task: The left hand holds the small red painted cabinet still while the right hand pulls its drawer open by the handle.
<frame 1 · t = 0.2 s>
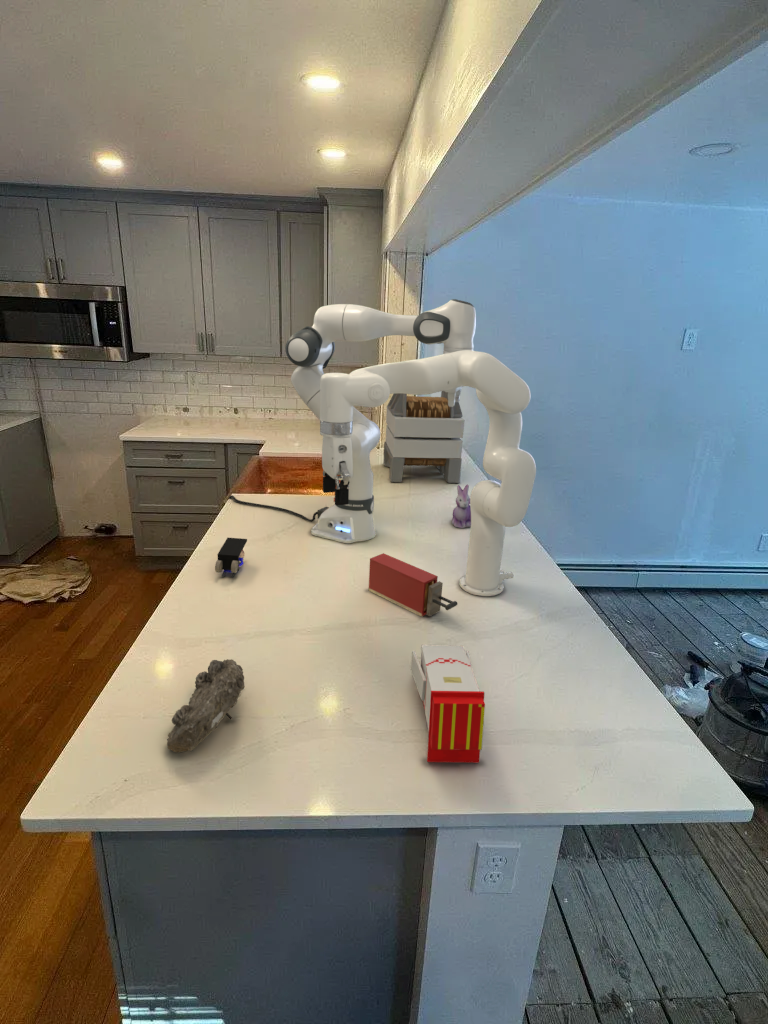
left hand: (453, 404, 174), 48 cm above the counter, tool pointing down, fingers open, 8 cm apart
right hand: (335, 498, 137), 31 cm above the counter, tool pointing down, fingers open, 9 cm apart
transformer: (419, 473, 275), on the counter
figurine: (462, 524, 212), on the counter
cabinet: (400, 599, 155), on the counter
toy: (442, 711, 112), on the counter
fossil: (212, 717, 108), on the counter
drawer: (416, 590, 150), point 5 cm above the counter, slide at 1.0 cm
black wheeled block: (232, 569, 168), on the counter
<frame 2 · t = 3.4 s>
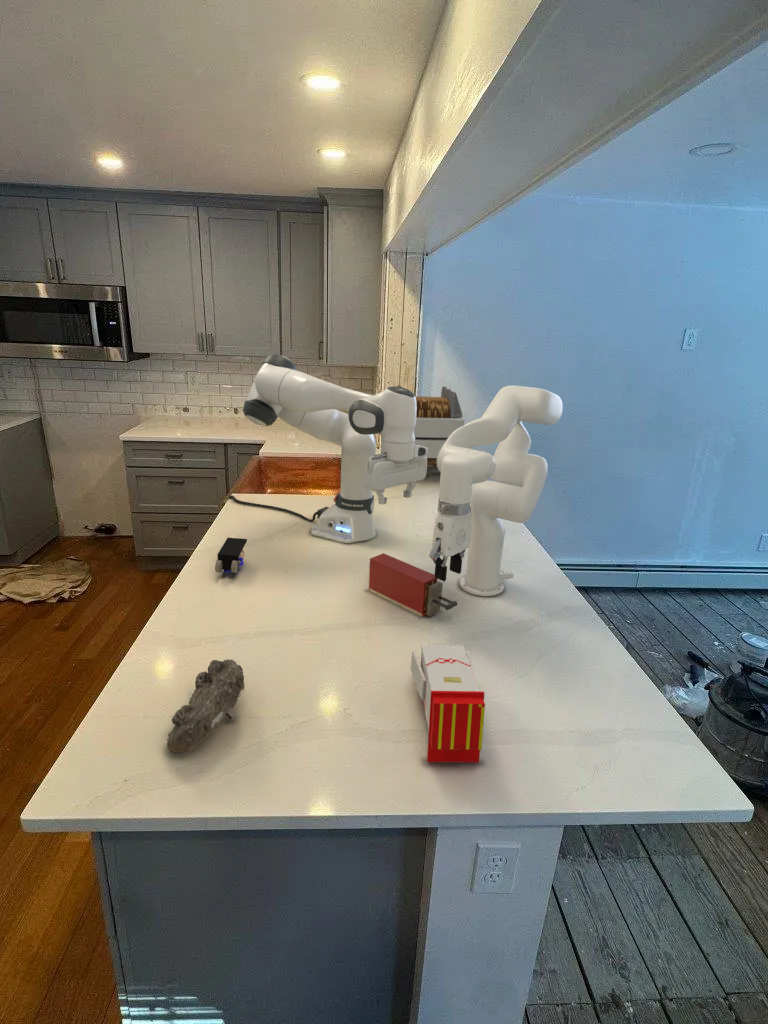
left hand: (395, 500, 153), 26 cm above the counter, tool pointing down, fingers open, 8 cm apart
right hand: (447, 574, 141), 13 cm above the counter, tool pointing down, fingers open, 5 cm apart
nothing on the counter moved.
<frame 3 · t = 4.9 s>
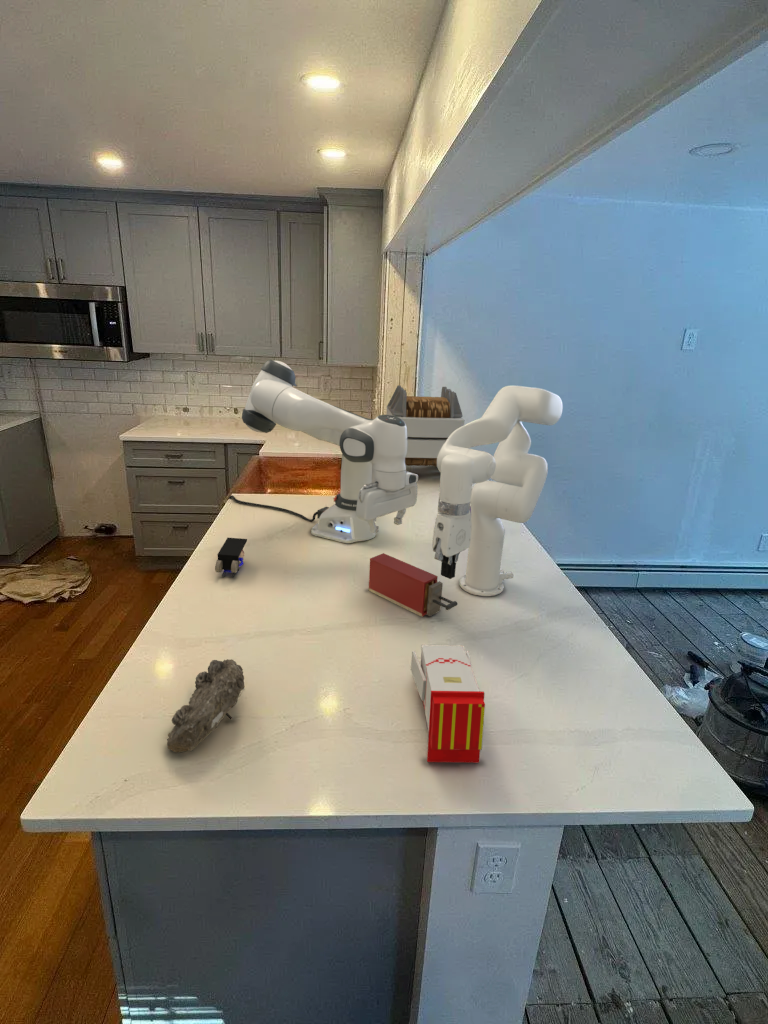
left hand: (386, 528, 152), 19 cm above the counter, tool pointing down, fingers open, 8 cm apart
right hand: (447, 576, 141), 13 cm above the counter, tool pointing down, fingers closed
nothing on the counter moved.
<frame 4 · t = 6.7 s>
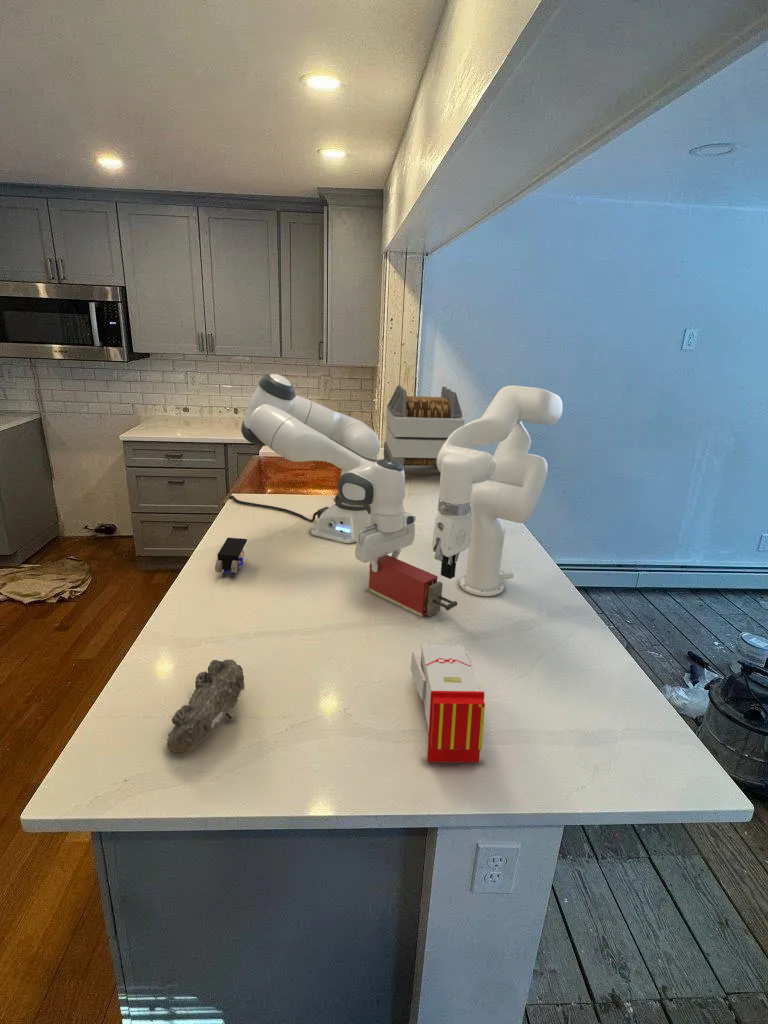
left hand: (384, 567, 156), 8 cm above the counter, tool pointing down, fingers closed on cabinet, 5 cm apart
right hand: (447, 576, 141), 13 cm above the counter, tool pointing down, fingers closed
cabinet: (400, 599, 155), on the counter, touching left hand
everything else where it was.
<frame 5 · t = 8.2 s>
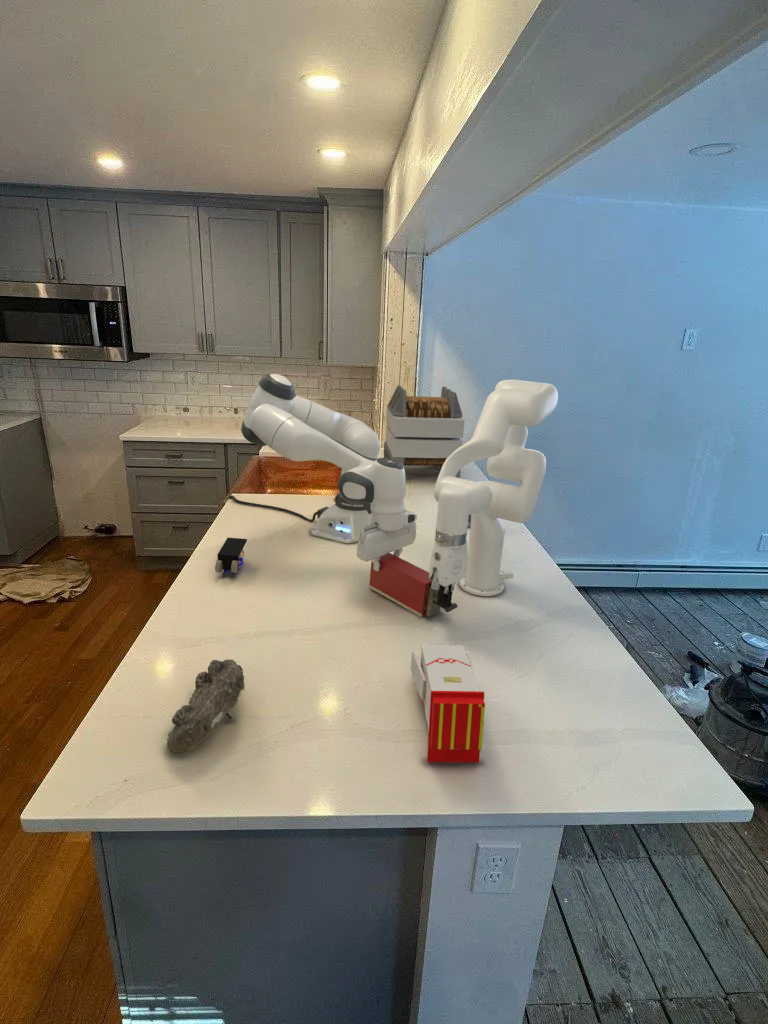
left hand: (386, 566, 156), 8 cm above the counter, tool pointing down, fingers closed on cabinet, 5 cm apart
right hand: (443, 604, 143), 5 cm above the counter, tool pointing down, fingers closed
cabinet: (401, 598, 155), on the counter, touching left hand
drawer: (417, 590, 149), point 5 cm above the counter, slide at 0.9 cm, touching right hand
everything else where it was.
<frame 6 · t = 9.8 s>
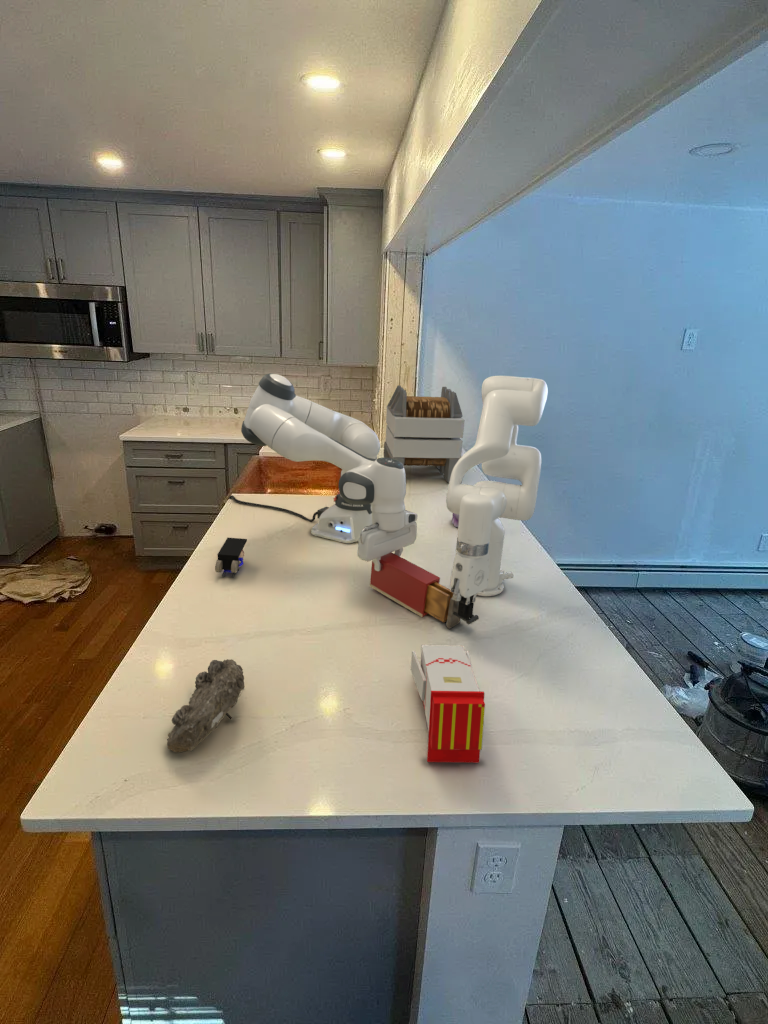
left hand: (387, 566, 156), 8 cm above the counter, tool pointing down, fingers closed on cabinet, 5 cm apart
right hand: (464, 616, 139), 5 cm above the counter, tool pointing down, fingers closed
cabinet: (401, 598, 154), point 1 cm above the counter, touching left hand
drawer: (436, 600, 145), point 5 cm above the counter, slide at 7.3 cm, touching right hand
everything else where it was.
when the left hand's fingers open (8 cm above the counter, at t = 11.3 s): cabinet stays where it is, on the counter.
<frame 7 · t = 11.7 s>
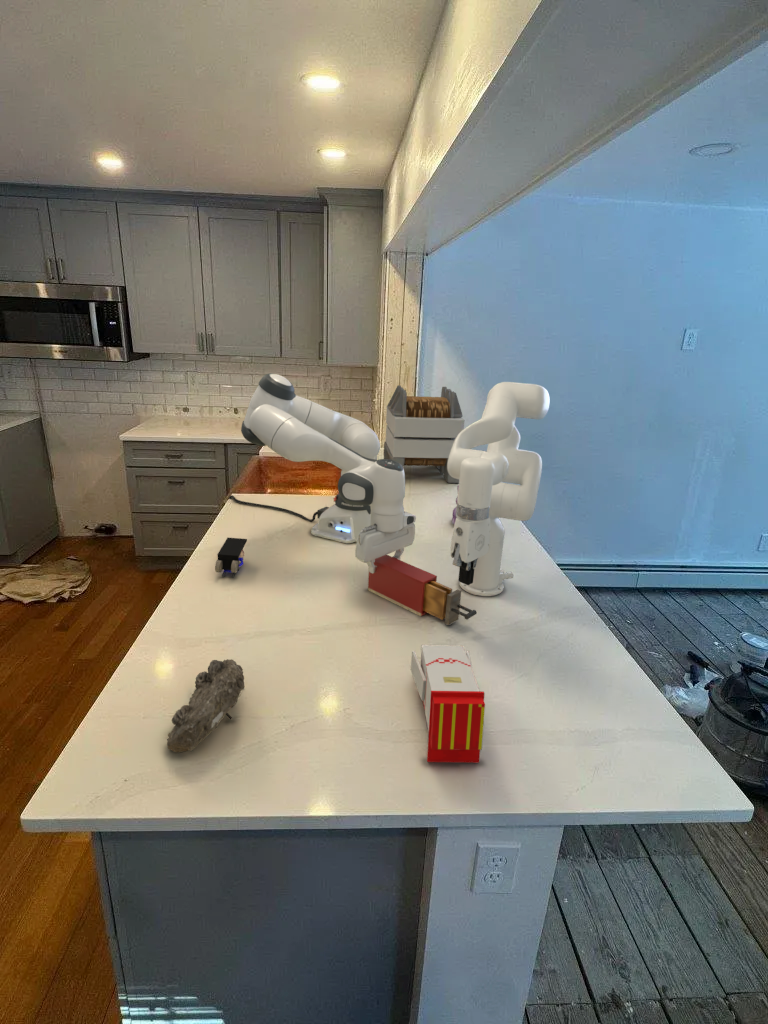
left hand: (384, 567, 156), 8 cm above the counter, tool pointing down, fingers open, 8 cm apart
right hand: (465, 582, 137), 13 cm above the counter, tool pointing down, fingers closed
cabinet: (400, 599, 155), on the counter
drawer: (434, 598, 146), point 5 cm above the counter, slide at 7.2 cm
everything else where it was.
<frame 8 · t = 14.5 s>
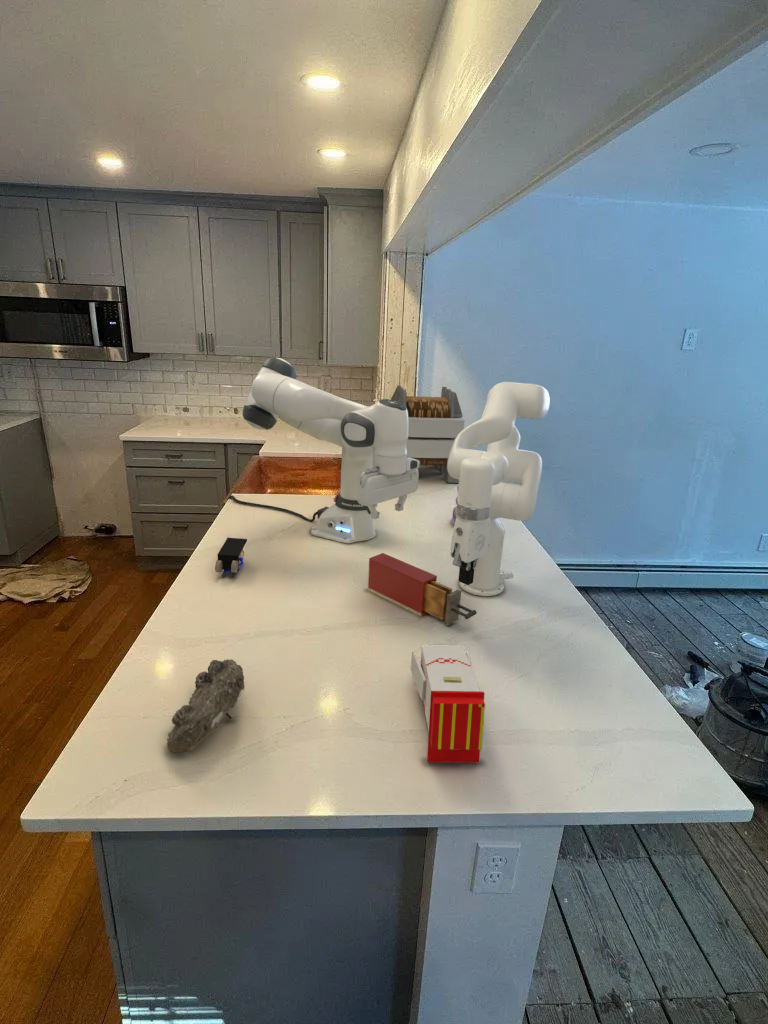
left hand: (387, 514, 151), 23 cm above the counter, tool pointing down, fingers open, 8 cm apart
right hand: (465, 582, 137), 13 cm above the counter, tool pointing down, fingers closed
nothing on the counter moved.
at the end: drawer slide at 7.2 cm; cabinet tilted 0°; cabinet never tilted more than 5° during the clip; cabinet moved 0.2 cm from its start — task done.
